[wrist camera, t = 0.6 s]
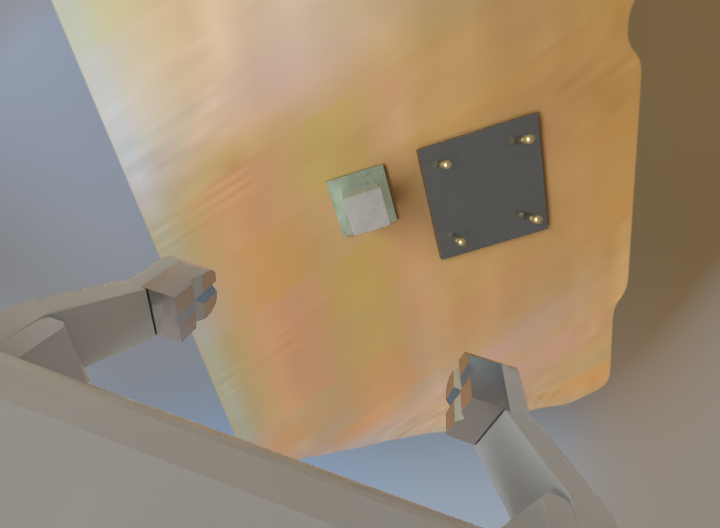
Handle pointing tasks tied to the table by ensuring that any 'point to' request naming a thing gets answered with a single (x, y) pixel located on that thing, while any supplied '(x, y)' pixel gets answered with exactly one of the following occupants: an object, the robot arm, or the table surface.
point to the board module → (362, 201)
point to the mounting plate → (485, 186)
